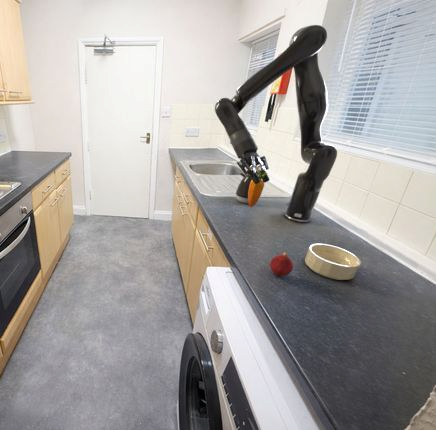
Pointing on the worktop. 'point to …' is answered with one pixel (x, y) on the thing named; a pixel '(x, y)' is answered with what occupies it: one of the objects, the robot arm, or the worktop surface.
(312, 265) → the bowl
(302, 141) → the robot arm
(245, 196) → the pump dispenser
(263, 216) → the worktop surface
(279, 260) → the onion
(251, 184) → the carrot
